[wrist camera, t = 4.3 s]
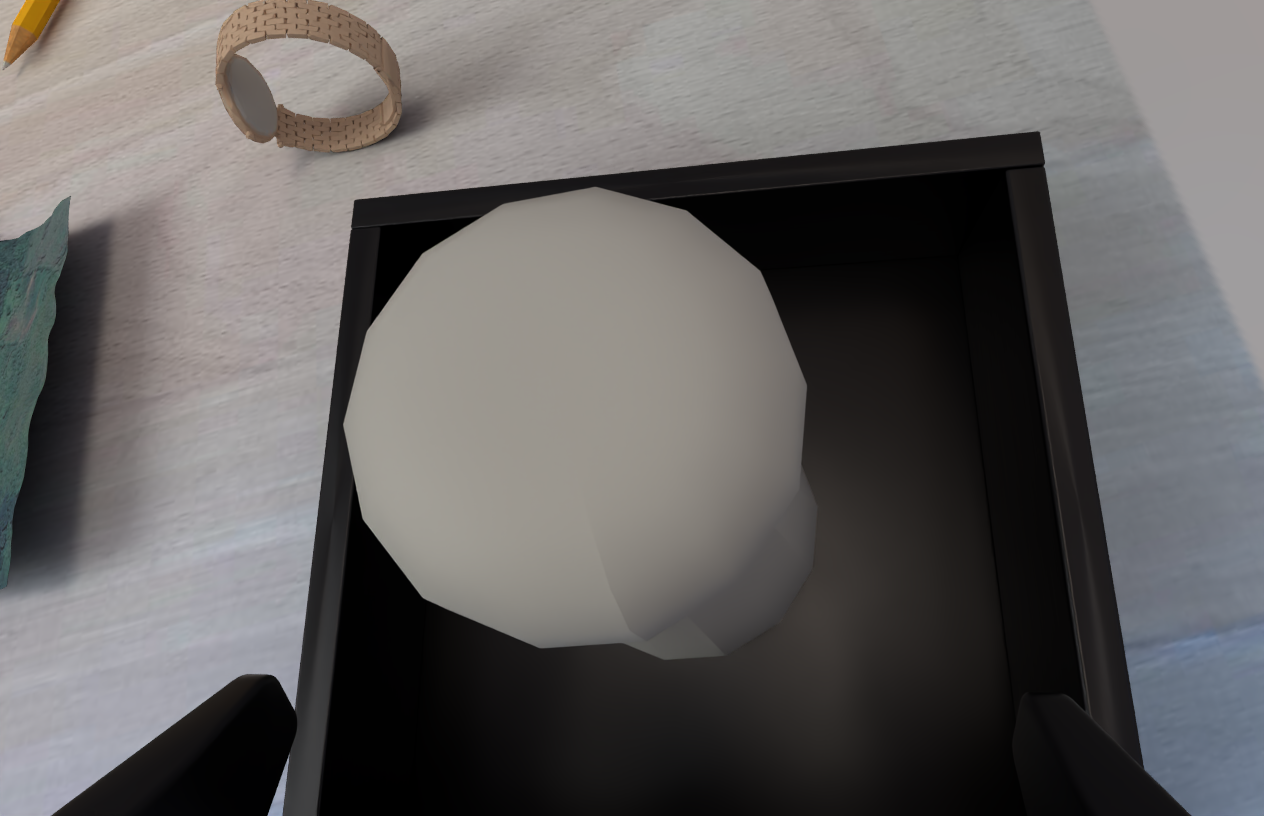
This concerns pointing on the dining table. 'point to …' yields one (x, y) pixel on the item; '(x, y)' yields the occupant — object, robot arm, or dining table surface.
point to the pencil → (28, 27)
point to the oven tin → (844, 542)
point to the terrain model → (24, 349)
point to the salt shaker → (588, 430)
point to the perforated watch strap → (263, 120)
